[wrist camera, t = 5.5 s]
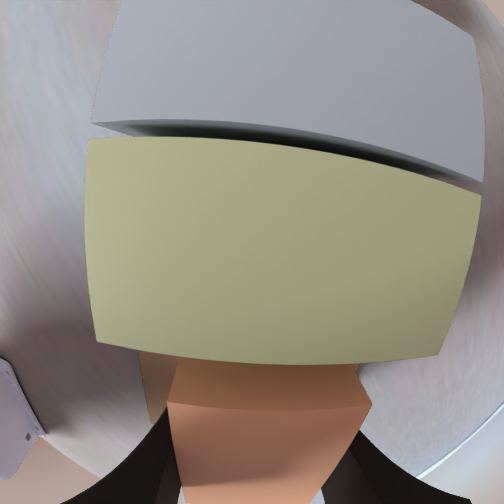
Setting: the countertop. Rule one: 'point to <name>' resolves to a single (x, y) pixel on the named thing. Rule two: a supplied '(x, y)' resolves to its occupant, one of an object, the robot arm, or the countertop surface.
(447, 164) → the slate book
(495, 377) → the countertop surface
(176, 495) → the robot arm
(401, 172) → the olive book
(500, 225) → the countertop surface
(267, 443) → the terracotta block
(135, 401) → the countertop surface
